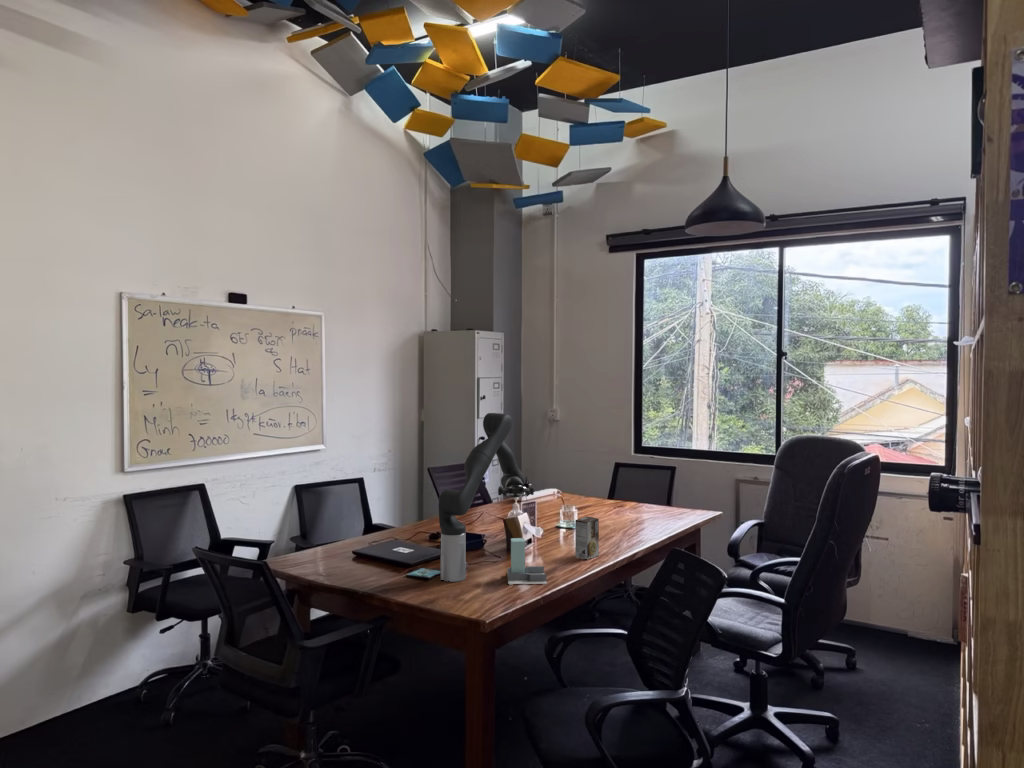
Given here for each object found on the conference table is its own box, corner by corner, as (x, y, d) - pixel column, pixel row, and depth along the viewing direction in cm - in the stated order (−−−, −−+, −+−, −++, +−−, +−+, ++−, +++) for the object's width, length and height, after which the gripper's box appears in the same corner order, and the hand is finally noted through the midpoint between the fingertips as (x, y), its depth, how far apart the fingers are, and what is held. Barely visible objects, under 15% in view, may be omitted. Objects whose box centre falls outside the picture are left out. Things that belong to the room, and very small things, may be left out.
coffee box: (586, 553, 284) (586, 516, 284) (599, 556, 280) (599, 518, 280) (574, 557, 277) (574, 519, 277) (587, 560, 273) (587, 521, 273)
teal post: (511, 579, 246) (511, 541, 246) (510, 575, 251) (510, 538, 251) (524, 578, 246) (524, 541, 246) (524, 574, 251) (524, 538, 251)
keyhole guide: (508, 584, 241) (508, 576, 241) (507, 572, 256) (507, 565, 256) (546, 584, 241) (546, 576, 241) (543, 572, 256) (543, 564, 256)
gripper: (497, 478, 275) (498, 484, 259) (531, 477, 276) (534, 484, 259) (497, 496, 275) (498, 503, 259) (531, 495, 276) (534, 503, 260)
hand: (516, 493), depth 259 cm, fingers open, 8 cm apart
